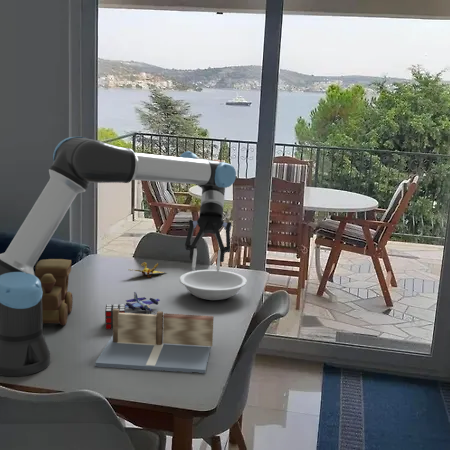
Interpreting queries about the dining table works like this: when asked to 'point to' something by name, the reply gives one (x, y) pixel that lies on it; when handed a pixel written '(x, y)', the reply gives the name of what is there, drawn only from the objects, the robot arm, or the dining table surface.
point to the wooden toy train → (55, 289)
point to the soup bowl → (213, 283)
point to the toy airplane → (141, 303)
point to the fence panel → (188, 329)
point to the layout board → (154, 356)
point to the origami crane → (148, 269)
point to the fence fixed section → (138, 327)
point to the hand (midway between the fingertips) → (205, 269)
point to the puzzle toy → (110, 314)
